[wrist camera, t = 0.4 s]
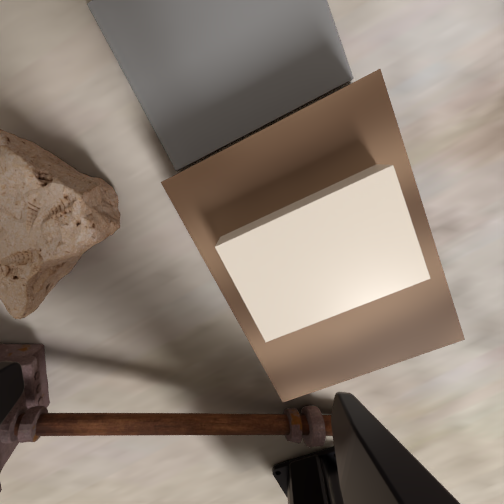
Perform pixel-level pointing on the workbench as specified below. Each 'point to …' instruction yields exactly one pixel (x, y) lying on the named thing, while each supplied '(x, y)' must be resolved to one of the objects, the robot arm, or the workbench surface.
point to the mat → (221, 64)
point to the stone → (45, 221)
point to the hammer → (135, 415)
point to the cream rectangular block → (325, 253)
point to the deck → (296, 188)
